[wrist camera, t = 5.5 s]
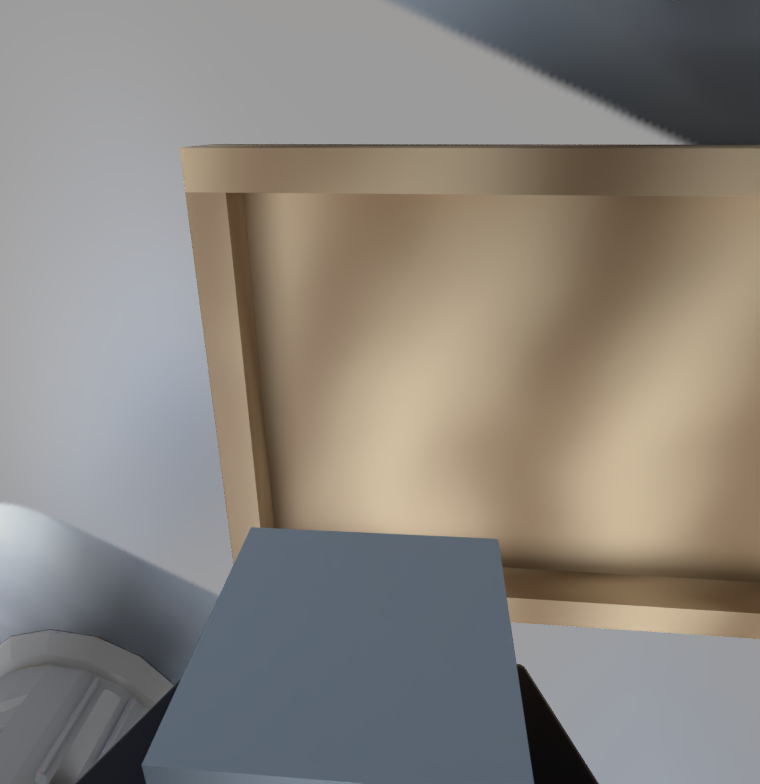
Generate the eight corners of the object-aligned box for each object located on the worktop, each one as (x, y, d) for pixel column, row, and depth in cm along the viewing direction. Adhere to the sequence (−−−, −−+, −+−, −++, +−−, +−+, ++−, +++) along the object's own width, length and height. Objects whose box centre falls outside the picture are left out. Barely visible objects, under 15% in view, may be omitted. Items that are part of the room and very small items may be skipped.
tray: (1022, 145, 14) (1115, 148, 12) (838, 595, 20) (882, 647, 18) (211, 144, 16) (179, 147, 14) (257, 559, 22) (238, 603, 20)
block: (498, 538, 9) (535, 798, 6) (482, 714, 11) (504, 1000, 7) (251, 526, 10) (140, 765, 6) (271, 699, 11) (193, 966, 8)
